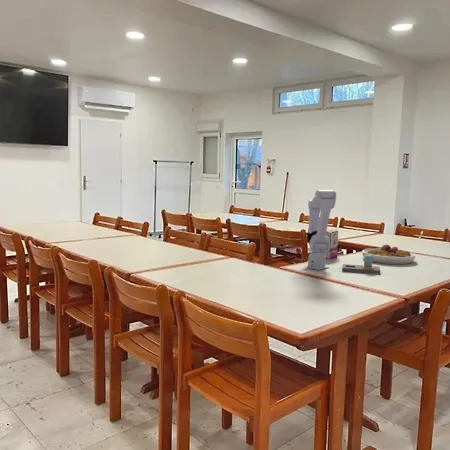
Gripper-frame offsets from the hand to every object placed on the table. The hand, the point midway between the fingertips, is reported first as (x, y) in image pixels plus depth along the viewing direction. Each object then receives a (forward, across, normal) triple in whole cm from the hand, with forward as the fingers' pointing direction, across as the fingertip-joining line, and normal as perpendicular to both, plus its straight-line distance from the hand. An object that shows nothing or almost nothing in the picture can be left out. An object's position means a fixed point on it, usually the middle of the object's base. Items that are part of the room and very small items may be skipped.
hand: (313, 244), depth 261 cm
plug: (+8, -8, -33) cm, 35 cm away
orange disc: (+8, -8, -33) cm, 35 cm away
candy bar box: (+11, +20, -5) cm, 23 cm away
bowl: (+11, +31, -37) cm, 50 cm away
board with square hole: (+10, -9, -29) cm, 32 cm away
